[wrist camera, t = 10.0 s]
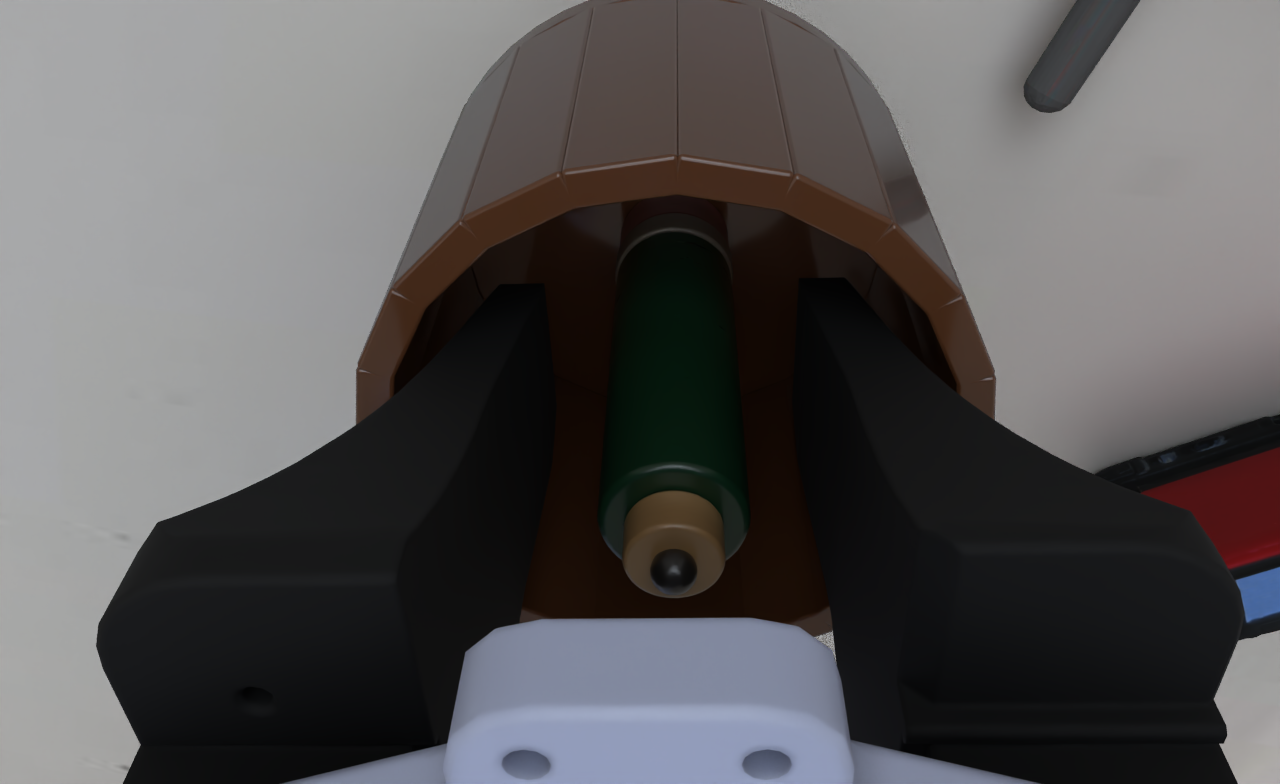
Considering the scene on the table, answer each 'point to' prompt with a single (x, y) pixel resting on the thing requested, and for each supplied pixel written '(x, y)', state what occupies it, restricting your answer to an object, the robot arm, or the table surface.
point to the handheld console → (1226, 505)
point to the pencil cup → (758, 241)
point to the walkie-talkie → (1075, 52)
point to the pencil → (674, 402)
